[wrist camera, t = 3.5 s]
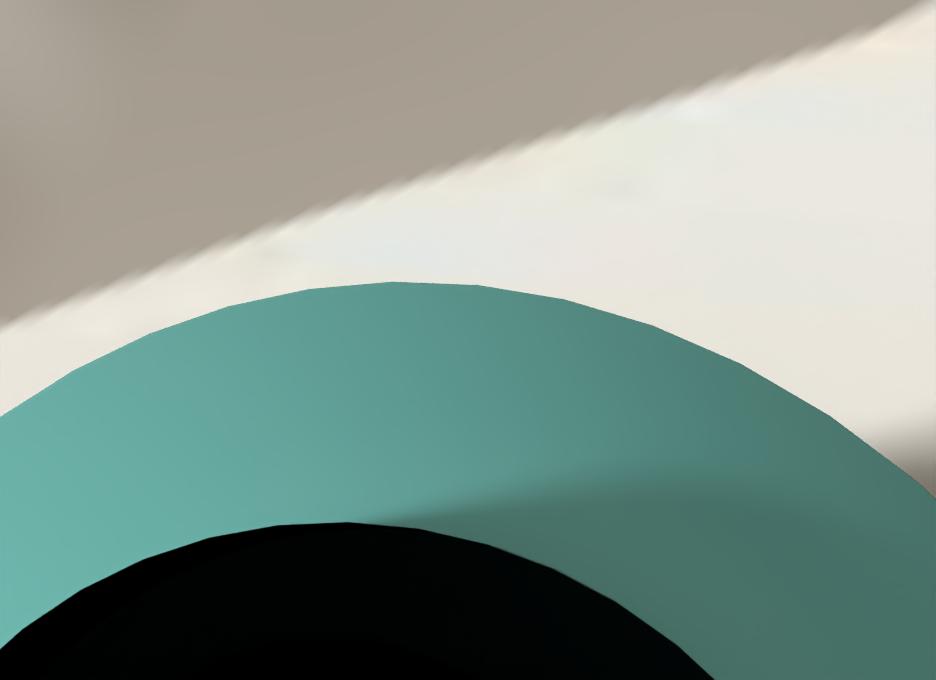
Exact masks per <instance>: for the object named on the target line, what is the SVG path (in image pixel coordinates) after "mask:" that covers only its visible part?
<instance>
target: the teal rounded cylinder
mask: <svg viewBox="0 0 936 680" xmlns="http://www.w3.org/2000/svg"><path fill="white" fill-rule="evenodd" d="M0 680H936V499H935V498H934V497H933V496H932V495H931V494H930V493H929V492H928V491H927V490H926V489H924V488H923V487H922V486H921V485H920V484H919V483H918V482H917V481H916V480H914V479H913V478H912V477H910V476H909V475H908V474H906V473H905V472H904V471H902V470H901V469H900V468H898V467H897V466H896V465H894V464H893V463H892V462H890V461H889V460H888V459H886V458H885V457H884V456H882V455H881V454H880V453H878V452H877V451H876V450H874V449H873V448H872V447H870V446H869V445H868V444H866V443H865V442H864V441H862V440H861V439H860V438H858V437H857V436H856V435H854V434H853V433H852V432H851V431H849V430H848V429H847V428H845V427H844V426H843V425H841V424H840V423H839V422H837V421H836V420H835V419H833V418H832V417H831V416H829V415H827V414H826V413H824V412H822V411H821V410H819V409H817V408H815V407H814V406H812V405H810V404H809V403H807V402H805V401H803V400H802V399H800V398H798V397H797V396H795V395H793V394H791V393H790V392H788V391H786V390H785V389H783V388H781V387H779V386H778V385H776V384H774V383H773V382H771V381H769V380H767V379H766V378H764V377H762V376H761V375H759V374H757V373H756V372H754V371H752V370H750V369H749V368H747V367H745V366H744V365H742V364H740V363H738V362H735V361H733V360H731V359H728V358H726V357H724V356H721V355H719V354H717V353H714V352H712V351H710V350H708V349H705V348H703V347H701V346H698V345H696V344H694V343H691V342H689V341H687V340H685V339H682V338H680V337H678V336H675V335H673V334H671V333H668V332H666V331H664V330H662V329H659V328H657V327H655V326H652V325H649V324H646V323H642V322H639V321H635V320H632V319H629V318H625V317H622V316H618V315H615V314H612V313H608V312H605V311H602V310H598V309H595V308H591V307H588V306H585V305H581V304H578V303H575V302H571V301H568V300H564V299H558V298H552V297H546V296H540V295H534V294H528V293H522V292H516V291H510V290H504V289H498V288H492V287H486V286H480V285H460V284H434V283H407V282H386V283H375V284H363V285H352V286H340V287H329V288H317V289H308V290H303V291H299V292H294V293H289V294H284V295H280V296H275V297H270V298H266V299H261V300H256V301H252V302H247V303H242V304H238V305H233V306H228V307H226V308H223V309H220V310H217V311H214V312H211V313H208V314H205V315H202V316H199V317H197V318H194V319H191V320H188V321H185V322H182V323H179V324H176V325H173V326H170V327H168V328H165V329H162V330H159V331H156V332H153V333H150V334H148V335H146V336H144V337H142V338H140V339H138V340H136V341H134V342H131V343H129V344H127V345H125V346H123V347H121V348H119V349H117V350H115V351H113V352H111V353H109V354H107V355H105V356H103V357H100V358H98V359H96V360H94V361H92V362H90V363H88V364H86V365H84V366H82V367H80V368H78V369H76V370H74V371H72V372H71V373H69V374H67V375H66V376H64V377H63V378H61V379H60V380H58V381H56V382H55V383H53V384H52V385H50V386H48V387H47V388H45V389H44V390H42V391H41V392H39V393H37V394H36V395H34V396H33V397H31V398H30V399H28V400H26V401H25V402H23V403H22V404H20V405H18V406H17V407H15V408H14V409H12V410H11V411H9V412H7V413H6V414H4V415H3V416H1V417H0Z"/></svg>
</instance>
